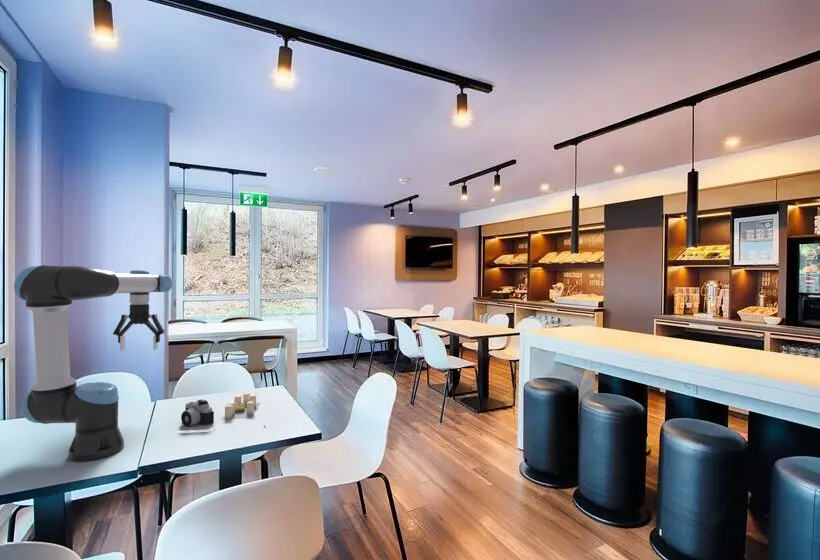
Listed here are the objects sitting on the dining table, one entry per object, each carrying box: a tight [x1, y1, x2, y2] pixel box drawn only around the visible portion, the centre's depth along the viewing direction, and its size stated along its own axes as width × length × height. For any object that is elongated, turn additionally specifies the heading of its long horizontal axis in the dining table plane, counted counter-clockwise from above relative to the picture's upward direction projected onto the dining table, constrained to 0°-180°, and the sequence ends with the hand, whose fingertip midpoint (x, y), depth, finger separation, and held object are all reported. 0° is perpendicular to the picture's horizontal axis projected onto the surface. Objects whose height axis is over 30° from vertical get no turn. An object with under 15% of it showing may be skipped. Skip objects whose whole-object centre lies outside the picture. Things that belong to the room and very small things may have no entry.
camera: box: [180, 399, 215, 427], centre depth 164 cm, size 16×9×10 cm, turn 62°
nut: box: [235, 401, 245, 412], centre depth 178 cm, size 4×4×3 cm
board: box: [221, 392, 261, 420], centre depth 179 cm, size 20×12×6 cm, turn 10°
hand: (139, 349), depth 183 cm, fingers open, 13 cm apart
